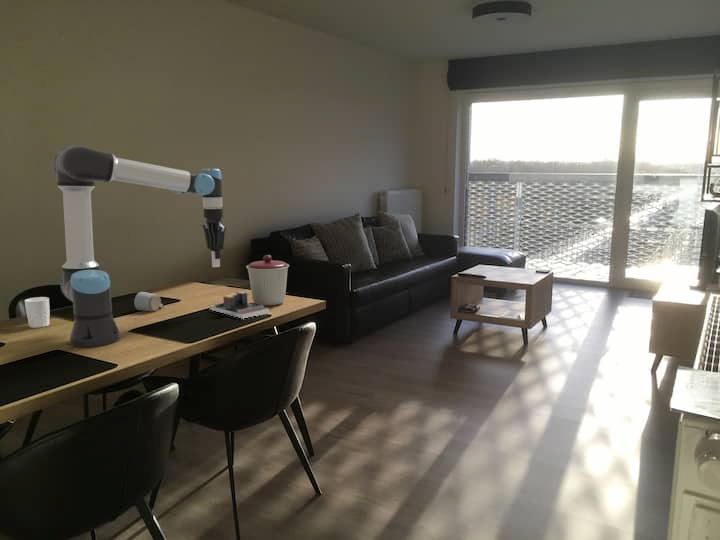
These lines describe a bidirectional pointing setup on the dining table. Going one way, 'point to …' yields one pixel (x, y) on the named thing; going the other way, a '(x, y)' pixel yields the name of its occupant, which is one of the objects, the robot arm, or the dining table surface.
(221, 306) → the serrated grey base plate
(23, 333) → the dining table surface
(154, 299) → the ceramic mug
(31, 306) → the white cup
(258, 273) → the canister
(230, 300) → the toggle
